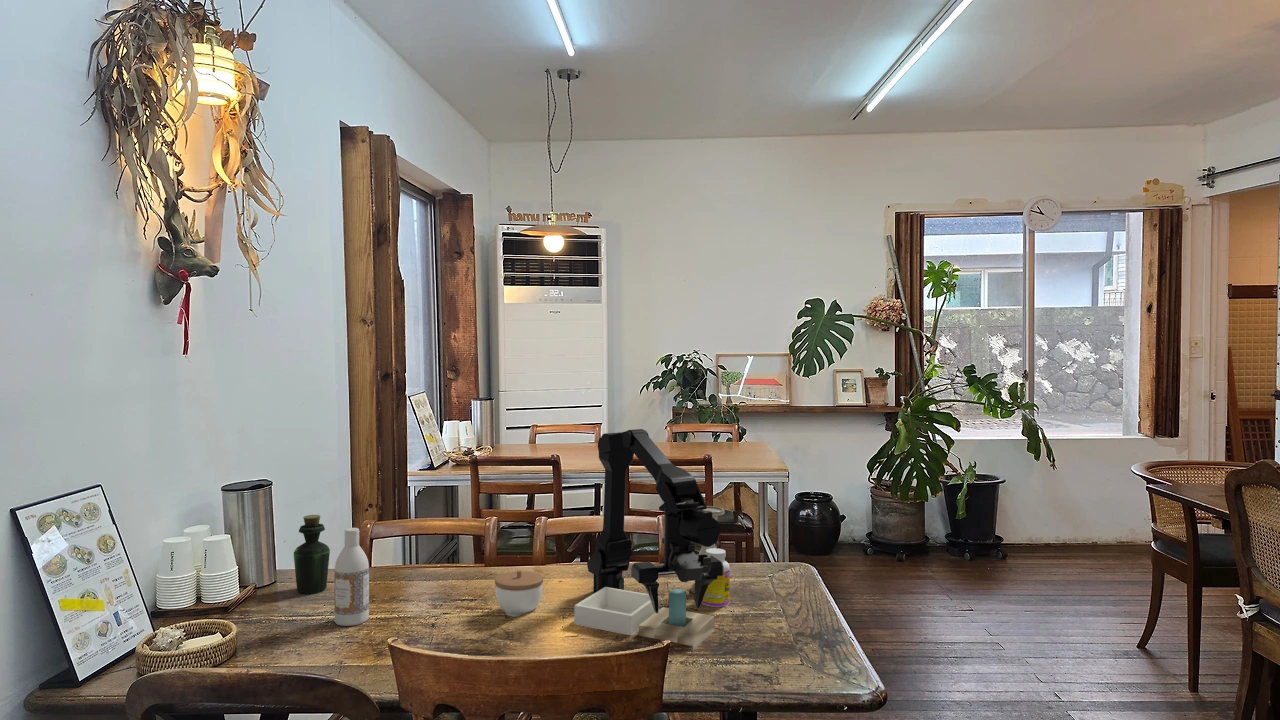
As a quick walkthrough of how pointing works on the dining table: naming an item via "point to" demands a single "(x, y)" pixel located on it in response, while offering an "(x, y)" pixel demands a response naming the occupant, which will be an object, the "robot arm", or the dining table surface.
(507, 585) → the lidded jar
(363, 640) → the dining table surface
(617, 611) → the open box
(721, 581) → the supplement bottle
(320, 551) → the potion bottle
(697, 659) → the dining table surface
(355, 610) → the bath foam
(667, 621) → the bore plate
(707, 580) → the robot arm
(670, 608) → the peg
